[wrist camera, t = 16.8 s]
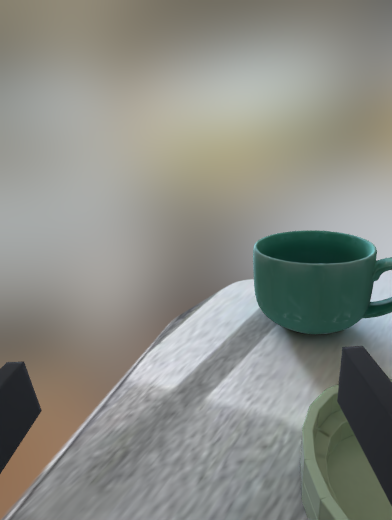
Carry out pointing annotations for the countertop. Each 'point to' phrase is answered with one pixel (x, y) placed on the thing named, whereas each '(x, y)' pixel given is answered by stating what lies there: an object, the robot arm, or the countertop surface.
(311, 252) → the mug
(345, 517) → the bowl
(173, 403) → the countertop surface
